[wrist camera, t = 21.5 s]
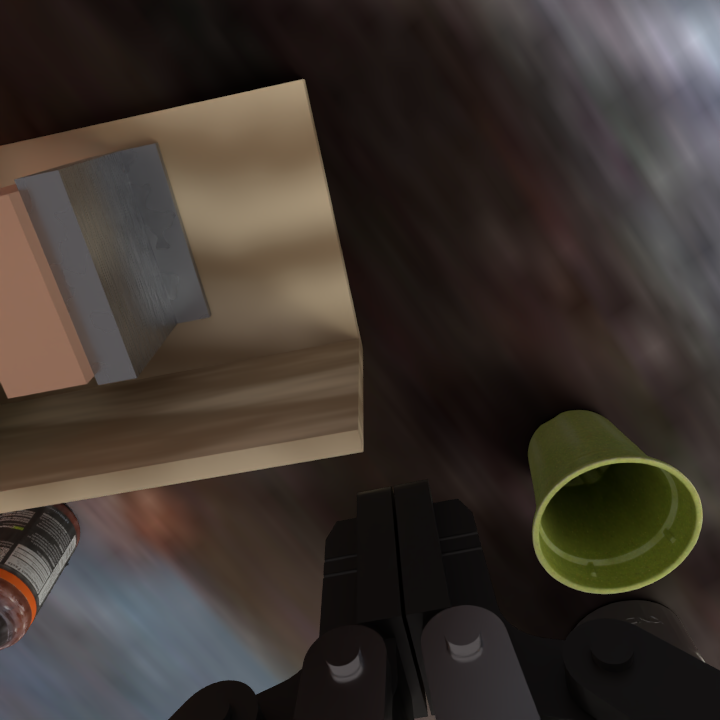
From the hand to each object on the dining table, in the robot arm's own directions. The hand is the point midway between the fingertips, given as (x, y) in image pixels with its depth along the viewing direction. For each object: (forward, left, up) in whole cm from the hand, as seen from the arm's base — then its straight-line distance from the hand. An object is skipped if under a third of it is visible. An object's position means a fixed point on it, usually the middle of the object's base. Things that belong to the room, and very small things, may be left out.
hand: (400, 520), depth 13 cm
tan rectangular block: (+2, +16, -25) cm, 30 cm away
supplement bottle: (-16, +28, -27) cm, 42 cm away
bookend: (+2, +13, -25) cm, 29 cm away
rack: (+1, +15, -27) cm, 30 cm away
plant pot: (-17, -10, -27) cm, 33 cm away
